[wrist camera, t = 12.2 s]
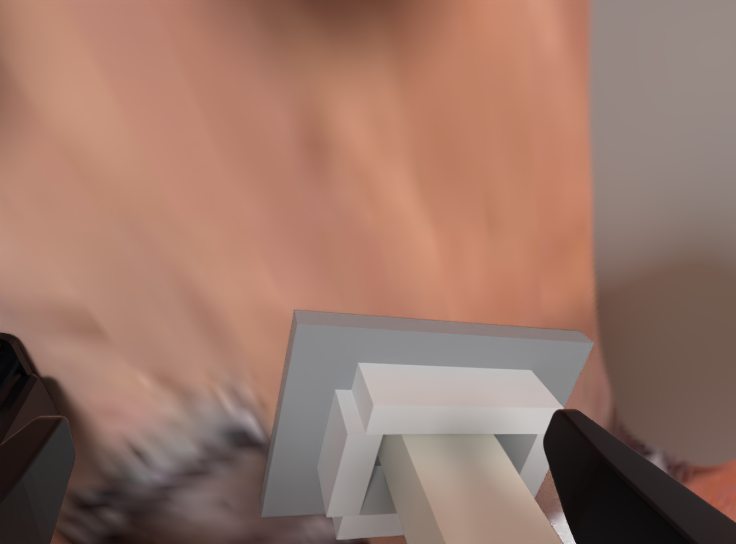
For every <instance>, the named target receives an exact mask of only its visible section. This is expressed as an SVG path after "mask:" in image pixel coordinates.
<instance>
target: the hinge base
mask: <svg viewBox="0 0 736 544" xmlns="http://www.w3.org/2000/svg"><path fill="white" fill-rule="evenodd" d="M593 345H594V343H593V342H592V341H591V340H590V339H589V338H588V337H586V336H585V335H584V334H583V333H582V332H581V331H571V330H558V329H544V328H531V327H517V326H504V325H490V324H477V323H463V322H450V321H436V320H423V319H409V318H396V317H382V316H369V315H355V314H342V313H328V312H315V311H301V310H294V315H293V320H292V326H291V332H290V337H289V343H288V348H287V354H286V359H285V365H284V370H283V376H282V381H281V387H280V392H279V398H278V403H277V409H276V414H275V420H274V425H273V431H272V436H271V442H270V447H269V453H268V458H267V464H266V469H265V475H264V480H263V486H262V492H261V497H260V504H261V517H278V516H297V515H316V514H326V517H332V520H333V525H334V530H335V535H336V540H342V539H357V538H371V537H385V536H400V535H404V532H403V529H402V526H401V523H400V520H399V517H398V514H397V511H396V508H395V505H394V502H393V499H392V496H391V493H390V490H389V487H388V484H387V481H386V478H385V475H384V472H383V469H382V466H381V463H380V460H379V457H378V454H377V453H378V450H379V446H380V443H381V440H382V436H383V435H395V434H494V436H495V438H496V439H497V440H498V441H499V443H500V444H501V446H502V448H503V449H504V451H505V452H506V454H507V455H508V457H509V459H510V460H511V462H512V464H513V466H514V468H515V469H516V471H517V472H518V474H519V475H520V477H521V479H522V480H523V482H524V483H525V485H526V487H527V488H528V490H529V491H530V493H531V494H532V496H533V498H534V499H535V496H536V494H537V492H538V490H539V488H540V486H541V484H542V482H543V480H544V478H545V476H546V473H547V471H548V469H549V465H548V462H547V458H546V455H545V452H544V448H543V438H544V435H545V432H546V430H547V427H548V425H549V422H550V420H551V418H552V415H553V413H554V412H555V411H556V410H558V409H564V407H565V405H566V403H567V400H568V398H569V396H570V394H571V392H572V390H573V387H574V385H575V383H576V381H577V379H578V377H579V375H580V372H581V370H582V368H583V366H584V364H585V362H586V360H587V357H588V355H589V353H590V351H591V349H592V347H593Z"/></svg>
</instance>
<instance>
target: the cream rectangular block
mask: <svg viewBox="0 0 736 544" xmlns="http://www.w3.org/2000/svg"><path fill="white" fill-rule="evenodd" d="M377 454H378V457H379V460H380V463H381V466H382V469H383V472H384V475H385V478H386V481H387V484H388V487H389V490H390V493H391V496H392V499H393V502H394V505H395V508H396V511H397V514H398V517H399V520H400V523H401V526H402V529H403V532H404V535H405V538H406V541H407V544H563V542H562V541H561V539H560V537H559V536H558V534H557V533H556V531H555V530H554V528H553V526H552V525H551V523H550V522H549V520H548V518H547V517H546V515H545V514H544V513H543V512H542V510H541V509H540V507H539V505H538V504H537V502H536V501H535V499H534V498H533V496H532V494H531V493H530V491H529V490H528V488H527V487H526V485H525V483H524V482H523V480H522V479H521V477H520V475H519V474H518V472H517V471H516V469H515V468H514V466H513V464H512V462H511V460H510V459H509V457H508V455H507V454H506V452H505V451H504V449H503V448H502V446H501V444H500V443H499V441H498V440H497V439H496V438H495V436H494V434H395V435H383V436H382V440H381V443H380V446H379V450H378V453H377Z"/></svg>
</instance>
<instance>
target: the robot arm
mask: <svg viewBox="0 0 736 544" xmlns="http://www.w3.org/2000/svg"><path fill="white" fill-rule="evenodd" d="M0 344H2V345H4V347H5V348H0V544H50V542H51V539H52V535H53V532H54V529H55V525H56V522H57V518H58V515H59V512H60V508H61V505H62V502H63V498H64V495H65V491H66V488H67V485H68V481H69V478H70V474H71V471H72V468H73V464H74V459H75V447H74V443H73V439H72V435H71V430H70V426H69V422H68V420H67V418H66V417H64V416H60V415H59V413H58V412H57V410H56V408H55V406H54V404H53V402H52V400H51V398H50V397H49V395H48V393H47V391H46V389H45V387H44V385H43V383H42V381H41V380H40V378H39V377H37V376H36V375H35V374H33V372H32V370H31V368H30V366H29V364H28V362H27V361H26V359H25V357H24V355H23V353H22V351H21V349H20V347H19V346H18V344H17V342H16V340H15V339H14V338H13V337H12V336H11V335H9V334H6V333H0ZM543 448H544V452H545V455H546V458H547V462H548V465H549V468H550V471H551V474H552V477H553V480H554V484H555V487H556V490H557V493H558V496H559V499H560V502H561V505H562V509H563V512H564V515H565V517H566V520H567V523H568V526H569V528H570V531H571V533H572V535H573V538H574V540H575V542H576V544H736V522H734V521H733V520H731V519H730V518H729V517H727V516H726V515H724V514H723V513H722V512H720V511H719V510H717V509H716V508H715V507H713V506H712V505H710V504H709V503H708V502H706V501H705V500H703V499H702V498H701V497H699V496H698V495H696V494H695V493H694V492H692V491H691V490H689V489H688V488H687V487H685V486H684V485H682V484H681V483H680V482H678V481H677V480H675V479H674V478H672V477H671V476H670V475H668V474H667V473H665V472H664V471H663V470H661V469H660V468H658V467H657V466H656V465H654V464H653V463H651V462H650V461H649V460H647V459H646V458H644V457H643V456H642V455H640V454H639V453H637V452H636V451H635V450H633V449H632V448H630V447H629V446H628V445H626V444H625V443H623V442H622V441H621V440H619V439H618V438H616V437H615V436H614V435H612V434H611V433H609V432H608V431H607V430H605V429H604V428H602V427H601V426H600V425H598V424H597V423H595V422H594V421H593V420H591V419H590V418H588V417H587V416H586V415H584V414H583V413H581V412H580V411H578V410H576V409H558V410H556V411H555V412H554V413H553V415H552V418H551V420H550V422H549V425H548V427H547V430H546V432H545V435H544V438H543Z"/></svg>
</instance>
